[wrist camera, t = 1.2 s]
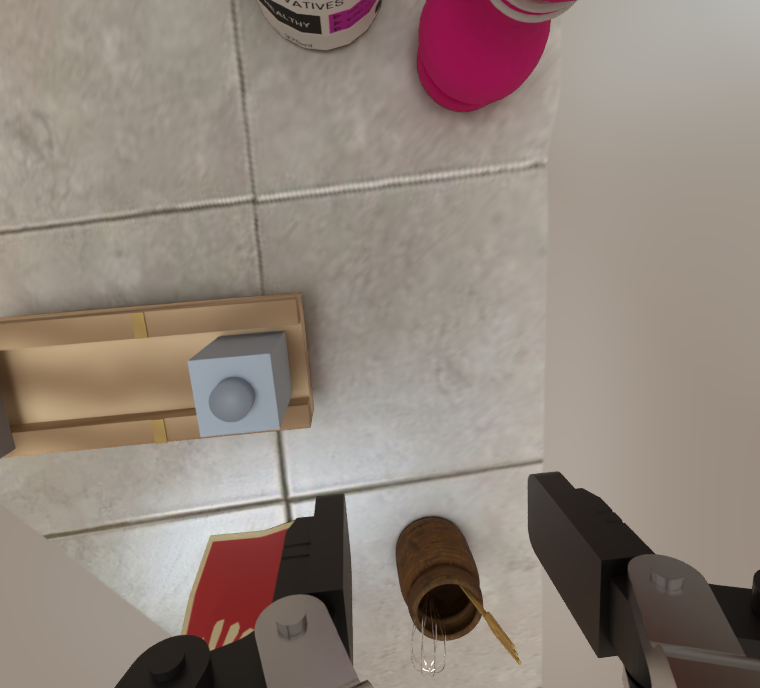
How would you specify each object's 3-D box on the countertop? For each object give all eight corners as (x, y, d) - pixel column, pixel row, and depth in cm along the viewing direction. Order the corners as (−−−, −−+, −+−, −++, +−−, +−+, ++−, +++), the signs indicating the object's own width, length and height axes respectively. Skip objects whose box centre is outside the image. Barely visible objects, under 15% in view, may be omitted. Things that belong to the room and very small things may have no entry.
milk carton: (232, 631, 40) (125, 1007, 20) (204, 536, 38) (55, 852, 18) (340, 610, 40) (335, 959, 21) (318, 513, 38) (289, 801, 19)
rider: (219, 336, 29) (180, 366, 22) (285, 330, 29) (266, 358, 23) (228, 398, 30) (194, 445, 23) (292, 392, 30) (276, 437, 23)
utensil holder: (382, 530, 39) (399, 657, 27) (454, 502, 39) (502, 616, 27) (408, 588, 40) (435, 731, 29) (478, 560, 40) (533, 693, 28)
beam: (15, 311, 33) (-123, 342, 23) (304, 287, 34) (288, 307, 24) (42, 421, 35) (-76, 492, 25) (316, 395, 36) (306, 454, 26)
